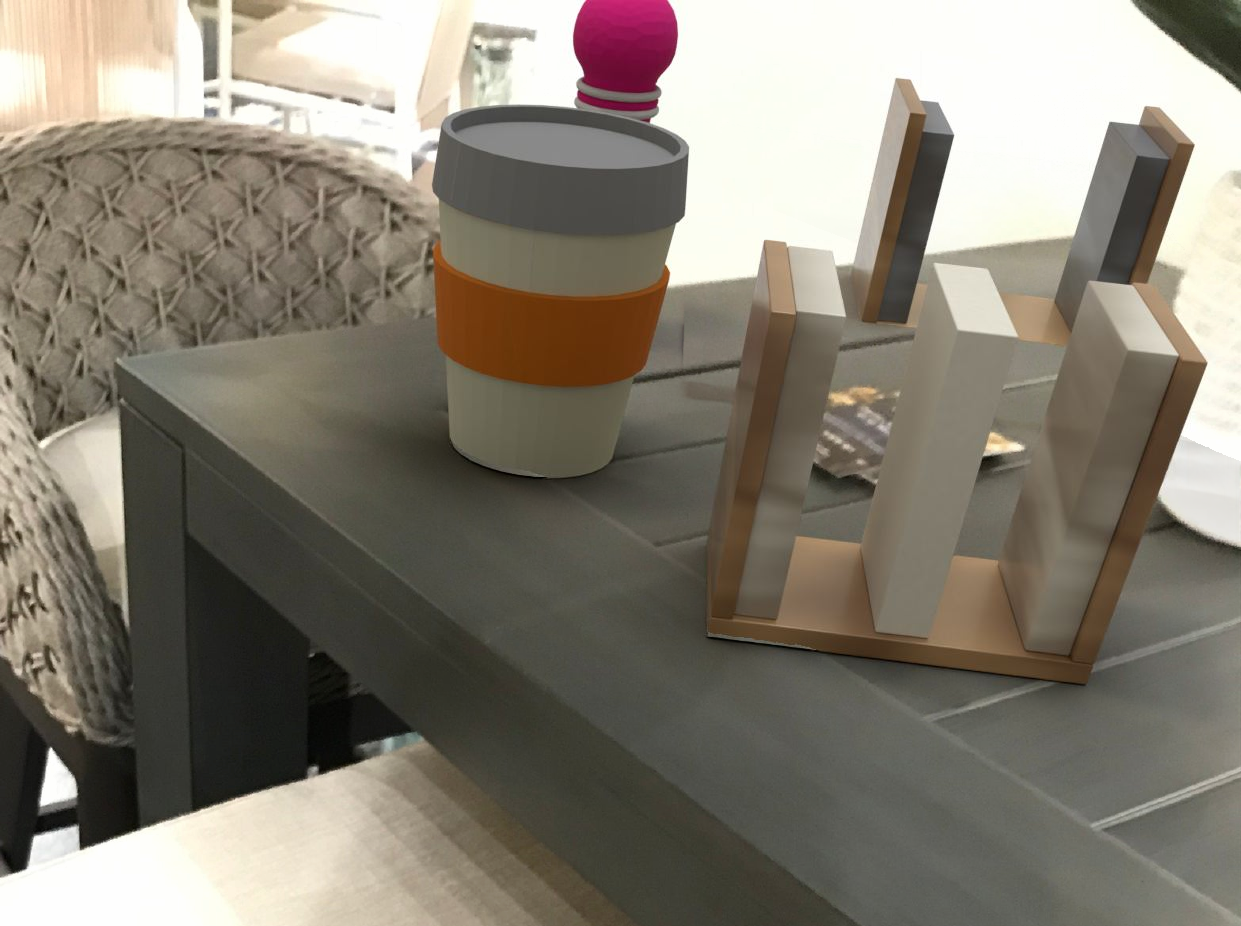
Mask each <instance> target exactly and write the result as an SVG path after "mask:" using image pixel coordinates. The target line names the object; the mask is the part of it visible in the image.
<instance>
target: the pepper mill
mask: <svg viewBox="0 0 1241 926" xmlns="http://www.w3.org/2000/svg"><path fill="white" fill-rule="evenodd" d="M678 39H679V27H678V20H677V17H676V12H675V10H674V8H673V6H672V5H671V3H670V1H669V0H584V2H583V3H582V5H581V7H580V9H579V11H578V13H577V16H576V19H575V22H574V27H573V32H572V46H573V52H574V56H575V58H576V60H577V62H578V63H579V65H580V67H581V69H582V72H583V73H582V74H583V76H581V77H579V78H578V79H577V80H576V82H575V85H576V89H577V92H576V97H575V98H574V100H573V104H574V106H575V108H579V109H587V110H593V111H599V112H605V113H611V114H616V115H620V116H625V117H630V118H633V119H637V120H640V121H644V122H648V123H651V120H652V119H653V118H655V117H656V116H658V114H659V113H660V107H659V106H658V104H659V99H660V97H661V96H662V93H663V92H662V89H661V87H659V85H658V84H657V83H658V81H659V79H660V77H661V76H662V75H663V74H664V73H665V72H666V71H667V70H668V68H669V67H670V66H671V65H672V62H673V61H674V58H675V56H676V53H677V49H678V48H677V47H678Z"/></svg>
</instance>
